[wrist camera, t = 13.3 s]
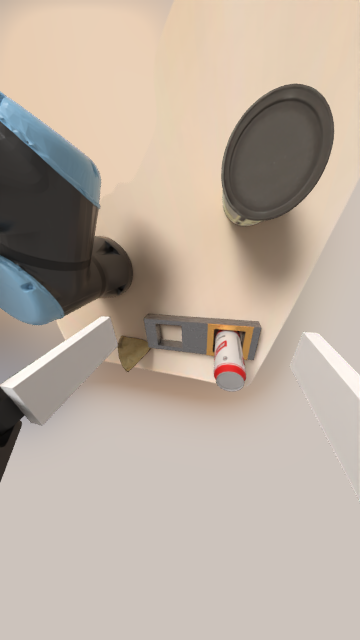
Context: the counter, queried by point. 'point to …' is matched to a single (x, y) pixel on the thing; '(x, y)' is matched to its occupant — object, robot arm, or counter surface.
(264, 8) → the counter surface
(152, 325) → the grey slotted tray
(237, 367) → the beer can
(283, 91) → the coffee can
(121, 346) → the rock
